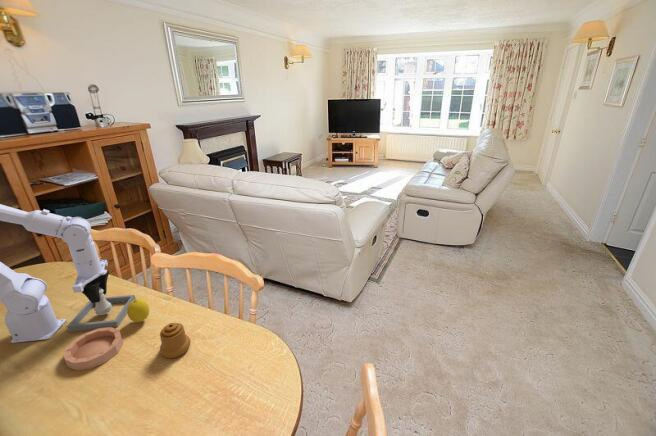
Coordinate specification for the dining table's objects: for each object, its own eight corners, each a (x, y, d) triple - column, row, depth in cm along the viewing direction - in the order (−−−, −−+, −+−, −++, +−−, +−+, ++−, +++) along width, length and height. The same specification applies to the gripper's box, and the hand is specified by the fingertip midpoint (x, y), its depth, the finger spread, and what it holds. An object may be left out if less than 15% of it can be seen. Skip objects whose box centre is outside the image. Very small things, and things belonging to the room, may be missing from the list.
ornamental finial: (186, 358, 79) (156, 361, 78) (194, 337, 86) (166, 340, 85) (181, 334, 76) (150, 337, 75) (189, 315, 83) (160, 317, 82)
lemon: (155, 315, 94) (150, 294, 91) (143, 328, 89) (137, 306, 86) (139, 314, 95) (133, 293, 92) (126, 327, 90) (119, 305, 86)
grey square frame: (68, 331, 87) (66, 326, 87) (93, 303, 99) (91, 298, 99) (117, 326, 90) (116, 321, 89) (135, 299, 101) (134, 294, 101)
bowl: (56, 372, 75) (53, 365, 74) (84, 337, 86) (81, 330, 85) (109, 366, 77) (106, 358, 76) (130, 332, 88) (127, 325, 87)
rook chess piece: (116, 308, 95) (108, 287, 92) (101, 317, 91) (92, 295, 88) (107, 304, 97) (99, 284, 94) (92, 313, 93) (83, 292, 90)
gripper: (87, 271, 81) (101, 312, 86) (113, 246, 94) (124, 283, 99) (57, 273, 80) (73, 314, 85) (88, 248, 93) (100, 285, 98)
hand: (99, 298), depth 92 cm, fingers closed on rook chess piece, 3 cm apart
